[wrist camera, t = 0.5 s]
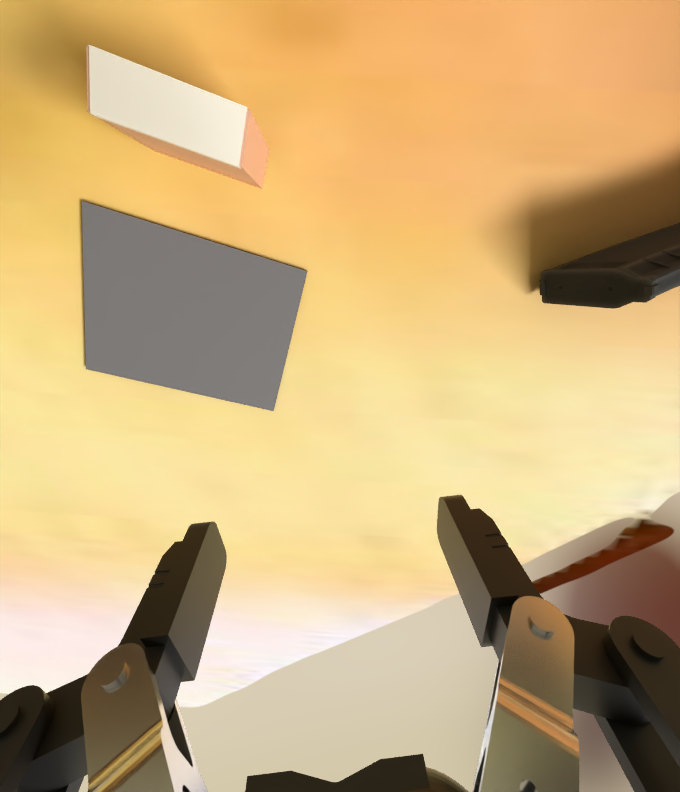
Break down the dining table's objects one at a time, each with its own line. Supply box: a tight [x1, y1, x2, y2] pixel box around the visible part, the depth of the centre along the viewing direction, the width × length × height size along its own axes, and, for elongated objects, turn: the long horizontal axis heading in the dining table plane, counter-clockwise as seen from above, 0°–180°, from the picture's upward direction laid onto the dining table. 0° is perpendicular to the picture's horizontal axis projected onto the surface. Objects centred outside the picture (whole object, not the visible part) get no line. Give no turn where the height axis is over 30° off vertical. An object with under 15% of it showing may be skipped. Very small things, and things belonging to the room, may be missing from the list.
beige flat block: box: [86, 45, 269, 189], centre depth 23 cm, size 3×9×9 cm, turn 73°
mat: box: [82, 201, 307, 411], centre depth 33 cm, size 16×20×1 cm
